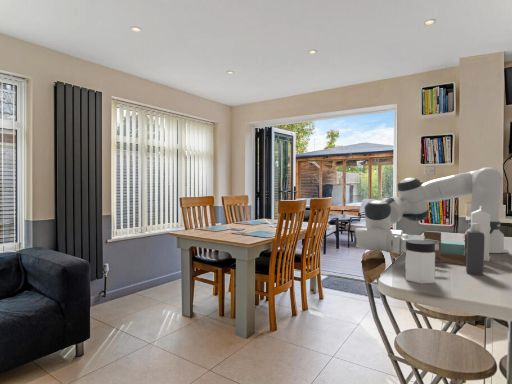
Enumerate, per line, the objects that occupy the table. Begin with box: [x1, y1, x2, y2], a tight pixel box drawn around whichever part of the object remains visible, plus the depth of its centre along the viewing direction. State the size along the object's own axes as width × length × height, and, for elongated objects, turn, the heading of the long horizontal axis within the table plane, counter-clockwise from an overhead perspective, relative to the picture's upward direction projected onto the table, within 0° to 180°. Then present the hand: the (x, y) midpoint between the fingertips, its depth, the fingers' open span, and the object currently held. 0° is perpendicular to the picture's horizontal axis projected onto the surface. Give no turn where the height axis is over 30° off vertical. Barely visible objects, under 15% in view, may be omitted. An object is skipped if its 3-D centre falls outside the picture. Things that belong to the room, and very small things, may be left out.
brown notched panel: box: [423, 230, 485, 268], centre depth 125 cm, size 2×20×12 cm, turn 61°
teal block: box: [441, 239, 465, 256], centre depth 130 cm, size 8×8×7 cm
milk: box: [470, 206, 490, 262], centre depth 132 cm, size 6×6×22 cm
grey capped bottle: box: [465, 223, 484, 276], centre depth 110 cm, size 4×4×17 cm
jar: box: [404, 240, 436, 285], centre depth 100 cm, size 9×8×12 cm
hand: (438, 245), depth 115 cm, fingers open, 8 cm apart
